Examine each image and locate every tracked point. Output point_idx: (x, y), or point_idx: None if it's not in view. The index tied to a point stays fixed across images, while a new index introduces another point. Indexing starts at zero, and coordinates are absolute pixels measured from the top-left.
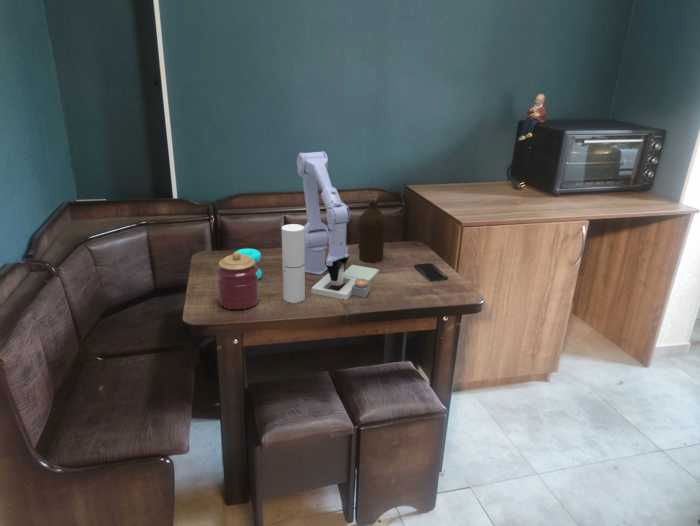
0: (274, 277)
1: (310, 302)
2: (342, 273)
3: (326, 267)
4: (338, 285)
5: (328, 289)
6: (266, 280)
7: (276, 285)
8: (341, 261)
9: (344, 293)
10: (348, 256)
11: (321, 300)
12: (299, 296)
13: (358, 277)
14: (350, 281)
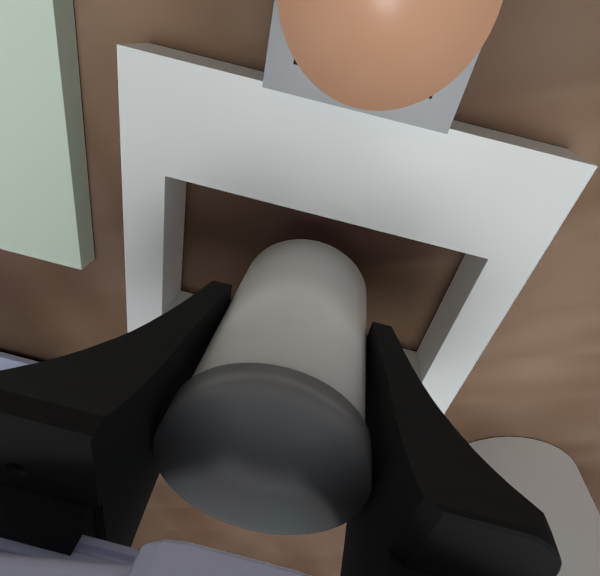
0: (248, 545)
1: (578, 406)
2: (317, 318)
3: (8, 367)
4: (362, 276)
5: (448, 343)
6: (290, 565)
7: (337, 539)
8: (148, 431)
9: (551, 194)
10: (12, 424)
11: (549, 347)
12: (589, 498)
13: (44, 100)
14: (222, 171)
